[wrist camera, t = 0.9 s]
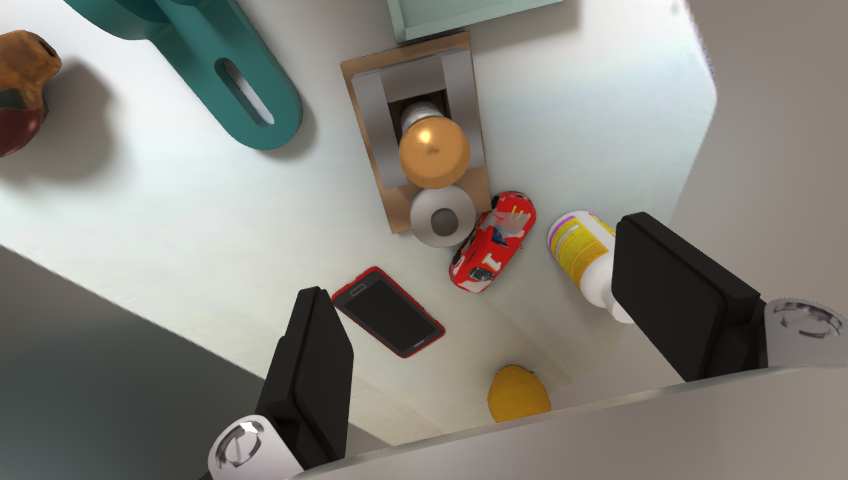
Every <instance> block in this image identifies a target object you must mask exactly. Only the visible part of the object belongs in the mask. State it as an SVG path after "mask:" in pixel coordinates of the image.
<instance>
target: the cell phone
mask: <svg viewBox="0 0 848 480" xmlns="http://www.w3.org/2000/svg"><path fill="white" fill-rule="evenodd" d="M338 291H339V292H338ZM338 291H337V292H338V293H337V292H336V293H335V294H334V295H333V296H332V298H331V301H332V303H333V305H334V306H335V307H336V308H337V309H339V310H340V311H341V312H343V313H344V314H345V315H346V316H348V317H349V318H350V319H352V320H353V321H354V322H355V323H357V324H358V325H359V326H360V327H362V328H363V329H364V330H366V331H367V332H368V333H369V334H371V335H372V336H373V337H375V338H376V339H377V340H378V341H380V342H381V343H382V344H384V345H385V346H386V347H387V348H389V349H390V350H391V351H393V352H394V353H395V354H396V355H398V356H400V357H401V358H407V357H410V356H411V355H413V354H415V353H416V352H418V351H419V350H421V349H423V348H424V347H426V346H427V345H429V344H431V343H432V342H434V341H435V340H437V339H439V338H440V337H442V336H443V335H444V333H445V330H444V327H443V326H442V325H441V324H440V323H439V322H438V321H437V320H435V319H434V318H433V317H431V316H430V315H429V314H428V313H427V312H426V311H425V310H424V308H423V307H422V306H421V305H420V304H419V303H418V302H416V301H415V300H414V299H413V298H412V297H411V296H410V295H409V294H408V293H407V292H406V291H404V290H403V289H402V288H401V287H400V286H399V285H398V284H397V283H396V282H395V281H394V280H392V279H391V278H390V277H389V276H388V275H387V274H386V273H385V272H384V271H383V270H381V269H380V268H379V267H376V266H374V267H371V268H369V269H367V270H366V271H365V272H364V273H362V274H360V275H359V276H358V277H356V280H354V281H353V282H352V283H350V284H347V285H345V286H344V287H343V288H341V289H340V290H338Z"/></svg>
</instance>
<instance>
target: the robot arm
mask: <svg viewBox="0 0 848 480" xmlns="http://www.w3.org/2000/svg"><path fill="white" fill-rule="evenodd" d="M611 292H612V295H613V297H614V298H615V300H616V301H617V302H618V303H619V304H620V306H621V307H622V308H623V309H624V310H625V311H626V313H627V314H628V315H629V316H630V317H631V318H632V320H633V321H634V322H635V323H636V324H637V325H638V327H639V328H640V329H641V330H642V331H643V332H644V334H645V335H646V336H647V337H648V338H649V340H650V341H651V342H652V343H653V344H654V345H655V347H656V348H657V349H658V350H659V351H660V353H662V355H663V356H664V357H665V358H666V360H667V361H668V362H669V363H670V364H671V365H672V367H673V368H674V369H675V370H676V371H677V373H678V374H679V375H680V376H681V377H682V378H683V380H684V381H685V382H686V383H682V384H677V385H673V386H668V387H663V388H658V389H653V390H649V391H644V392H640V393H635V394H630V395H625V396H621V397H616V398H611V399H606V400H601V401H597V402H592V403H587V404H583V405H578V406H574V407H569V408H565V409H560V410H556V411H550V412H546V413H541V414H537V415H532V416H528V417H523V418H518V419H514V420H509V421H505V422H500V423H495V424H491V425H486V426H482V427H477V428H473V429H468V430H464V431H460V432H455V433H451V434H446V435H442V436H437V437H433V438H428V439H424V440H419V441H415V442H410V443H406V444H401V445H397V446H393V447H389V448H385V449H381V450H376V451H372V452H368V453H364V454H360V455H356V456H352V457H347V458H345V451H346V439H347V427H348V417H349V405H350V394H351V382H352V371H353V360H354V353H353V348H352V345H351V343H350V340H349V338H348V336H347V334H346V332H345V329H344V327H343V325H342V323H341V321H340V318H339V316H338V314H337V312H336V310H335V307H334V305H333V303H332V301H331V299H330V296H329V294H328V292H327V290H326V289H323V290H321V289H320V287H318V286H315V287H311V288H307V289H302V290H300V291H299V293H298V295H297V299H296V302H295V305H294V308H293V311H292V314H291V318H290V321H289V324H288V327H287V330H286V333H285V336H282V337H281V338H280V339H279V342H278V344H277V347H276V350H275V353H274V356H273V359H272V362H271V365H270V368H269V371H268V374H267V377H266V380H265V383H264V386H263V389H262V392H261V395H260V398H259V401H258V405H257V408H256V411H255V413H254V415H251V416H247V417H244V418H242V419H239V420H238V421H236V422H235V423H233V424H232V425H230V426H229V427H228V428H227V429H226V430H225V431H224V432H223V433H222V434H221V435H220V436H219V437H218V439H217V440H216V441H215V443H214V445H213V447H212V449H211V451H210V453H209V459H208V466H209V471H208V472H207V473H206V474H205V475H204V476H203V477H202V478H200V479H199V480H848V319H846V318H845V317H844V316H843V315H842V314H840V313H838V312H837V311H835V310H833V309H831V308H830V307H827V306H824V305H822V304H819V303H817V302H813V301H809V300H804V299H798V298H779V299H775V300H772V301H770V302H769V303H768V304H767V303H766V302H764V301H763V300H762V299H760V298H759V297H760V295H761V294H760V293H759V292H757V291H756V290H755V289H753V288H752V287H750V286H749V285H748V284H746V283H745V282H743V281H742V280H741V279H739V278H738V277H736V276H735V275H734V274H732V273H731V272H729V271H728V270H726V269H725V268H724V267H722V266H721V265H719V264H718V263H717V262H715V261H714V260H712V259H711V258H710V257H708V256H707V255H705V254H704V253H703V252H701V251H700V250H698V249H697V248H695V247H694V246H693V245H691V244H690V243H688V242H687V241H685V240H684V239H683V238H681V237H680V236H679V235H677V234H676V233H674V232H673V231H671V230H670V229H669V228H667V227H666V226H664V225H663V224H662V223H660V222H659V221H657V220H656V219H655V218H653V217H652V216H650V215H649V214H647V213H646V212H639V213H635V214H630V215H626V216H624V217H622V219H621V221H620V222H618V223H617V226H616V236H615V248H614V259H613V270H612V281H611Z"/></svg>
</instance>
